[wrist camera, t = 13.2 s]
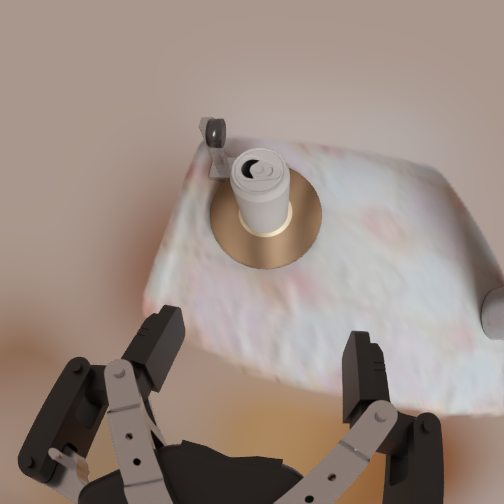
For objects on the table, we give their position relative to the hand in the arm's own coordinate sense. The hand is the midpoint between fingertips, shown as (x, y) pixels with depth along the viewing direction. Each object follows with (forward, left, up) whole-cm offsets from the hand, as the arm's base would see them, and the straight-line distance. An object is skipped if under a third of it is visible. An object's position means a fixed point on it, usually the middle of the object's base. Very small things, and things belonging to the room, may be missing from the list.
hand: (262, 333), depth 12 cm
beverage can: (+3, -15, -23) cm, 28 cm away
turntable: (+3, -15, -24) cm, 29 cm away
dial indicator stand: (+11, -23, -26) cm, 37 cm away
